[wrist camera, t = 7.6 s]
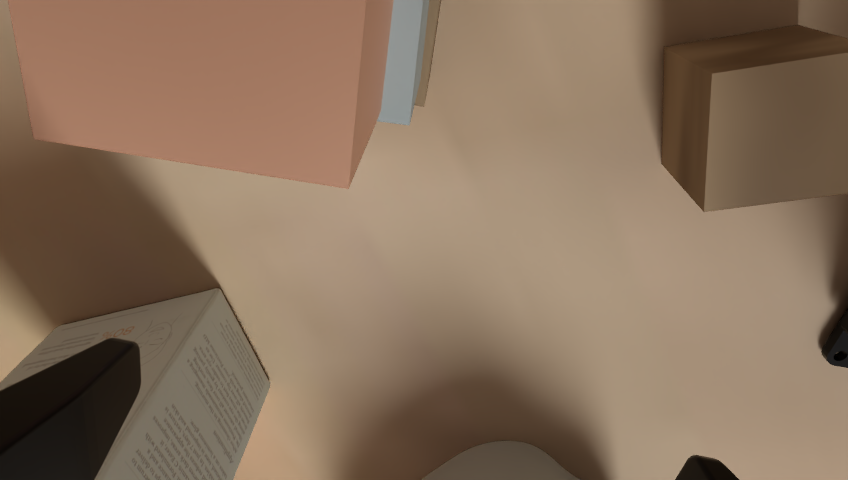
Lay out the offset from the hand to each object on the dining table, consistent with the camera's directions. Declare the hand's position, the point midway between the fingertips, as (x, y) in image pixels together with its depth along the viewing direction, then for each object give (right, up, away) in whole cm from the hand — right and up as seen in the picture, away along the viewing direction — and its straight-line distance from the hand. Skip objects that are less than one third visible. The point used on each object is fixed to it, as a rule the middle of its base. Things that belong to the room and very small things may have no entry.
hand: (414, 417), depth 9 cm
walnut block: (+10, +8, +10) cm, 16 cm away
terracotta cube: (-3, +8, +1) cm, 8 cm away
